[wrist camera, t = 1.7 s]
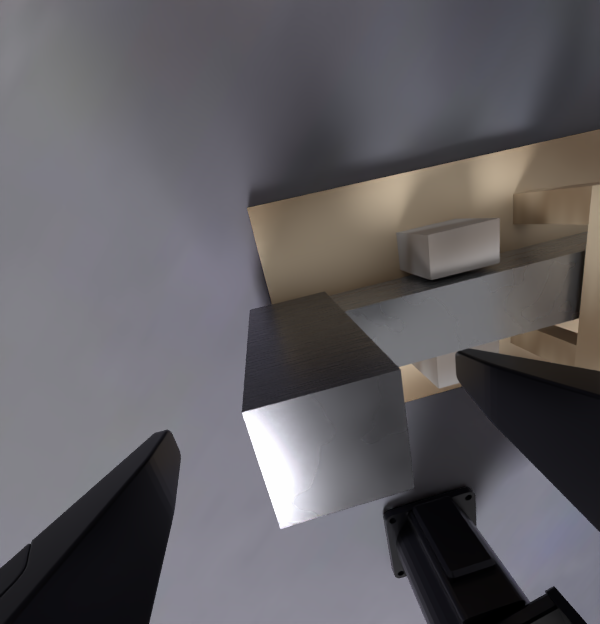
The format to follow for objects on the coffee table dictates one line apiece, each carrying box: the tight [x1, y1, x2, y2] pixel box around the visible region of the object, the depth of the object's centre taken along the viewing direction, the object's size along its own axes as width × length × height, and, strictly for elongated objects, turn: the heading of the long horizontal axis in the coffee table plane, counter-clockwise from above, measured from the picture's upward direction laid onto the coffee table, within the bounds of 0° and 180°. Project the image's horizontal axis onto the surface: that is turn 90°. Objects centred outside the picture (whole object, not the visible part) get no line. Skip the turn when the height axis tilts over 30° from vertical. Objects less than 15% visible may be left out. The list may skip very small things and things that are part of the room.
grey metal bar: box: [242, 231, 588, 529], centre depth 11 cm, size 4×22×8 cm, turn 102°
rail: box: [247, 129, 600, 402], centre depth 12 cm, size 12×22×8 cm, turn 102°
